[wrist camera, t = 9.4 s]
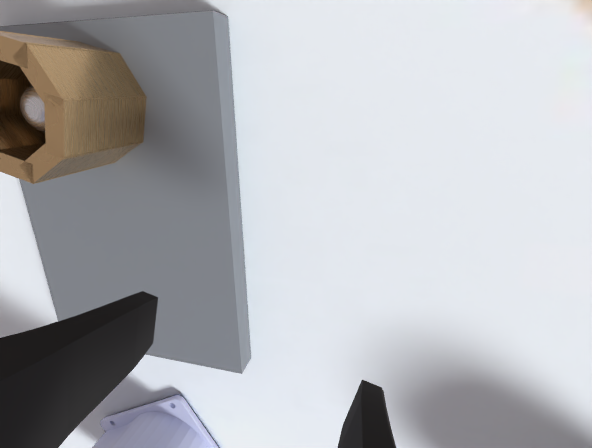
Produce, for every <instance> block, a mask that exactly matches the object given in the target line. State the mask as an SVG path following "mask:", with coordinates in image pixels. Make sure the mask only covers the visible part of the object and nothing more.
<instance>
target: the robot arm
mask: <svg viewBox="0 0 592 448" xmlns="http://www.w3.org/2000/svg"><path fill="white" fill-rule="evenodd" d="M157 304H158V297H156V296H154V295H151V294H149V293H146V292H144V291H141V292H139V293H136V294H133V295H130V296H127V297H125V298H122V299H120V300H117V301H114V302H112V303H109V304H106V305H104V306H101V307H98V308H96V309H93V310H90V311H87V312H85V313H82V314H79V315H77V316H73V317H70V318H67V319H64V320H61V321H58V322H55V323H52V324H49V325H46V326H43V327H40V328H36V329H33V330H29V331H26V332H22V333H18V334H14V335H10V336H6V337H2V338H0V448H58V447H59V446H60V445H61V444H62V443H63V441H64V440H65V439H66V438H67V437H68V435H69V434H70V433H71V432H72V431H73V430H74V429H75V428H76V427H77V426H78V425H79V424H80V422H81V421H82V420H83V419H84V418H85V417H86V416H87V415H88V414H89V413H90V412H91V411H92V410H93V409H94V408H95V407H96V406H97V405H98V404H99V403H100V402H101V401H102V400H103V399H104V398H105V397H106V396H107V395H108V394H109V393H110V392H111V391H112V390H113V389H114V388H115V387H116V386H117V385H118V384H119V383H120V382H121V381H122V380H123V379H124V378H125V377H126V376H127V375H128V374H129V373H130V372H131V371H132V370H133V369H134V367H135V366H136V365H137V364H138V362H139V361H140V360H141V359H142V357H143V356H144V355H145V353H146V352H147V351H148V350H149V348H150V347H151V346H152V344H153V340H154V331H155V322H156V313H157ZM100 425H101V427H102V428H103V429H104V431H105V433H104V434H103V436H102V437H101V438H100V439H99V440H98V441H97V442H96V444H95V445H94V446H93V447H92V448H219V447H218V446H217V445H216V443H215V442H214V440H213V439H212V437H211V436H210V435H209V433H208V432H207V430H206V429H205V428H204V426H203V425H202V423H201V422H200V420H199V419H198V418H197V416H196V415H195V413H194V412H193V410H192V409H191V408H190V406H189V405H188V403H187V402H186V400H185V399H184V398H183V397H182V396H180V395H176V396H172V397H169V398H166V399H163V400H159V401H156V402H153V403H150V404H147V405H143V406H140V407H137V408H134V409H130V410H127V411H124V412H121V413H118V414H114V415H111V416H108V417H105V418H103V419H102V420H101V422H100ZM338 448H396V445H395V442H394V438H393V434H392V430H391V426H390V422H389V418H388V413H387V408H386V403H385V397H384V392H383V390H382V388H381V387H379V386H377V385H374V384H372V383H369V382H367V381H364V380H362V381H361V384H360V386H359V388H358V391H357V393H356V395H355V398H354V400H353V402H352V405H351V407H350V410H349V412H348V414H347V417H346V419H345V421H344V424H343V427H342V431H341V435H340V440H339V444H338Z"/></svg>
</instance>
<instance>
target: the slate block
mask: <svg viewBox="0 0 592 448" xmlns="http://www.w3.org/2000/svg"><path fill="white" fill-rule="evenodd" d="M0 31H5V32H12V33H20V34H27V35H34V36H42V37H49V38H56V39H64V40H71V41H78V42H81V43H85V44H88V45H92V46H95V47H98V48H102V49H105V50H109V51H112V52H116V53H120V54H121V56H122V57H123V59H124V61H125V62H126V64H127V66H128V67H129V69H130V70H131V72H132V74H133V75H134V77H135V79H136V80H137V82H138V83H139V85H140V87H141V88H142V90H143V92H144V93H145V95H146V96H147V99H146V113H145V126H144V140H143V141H144V142H143V143H141V144H140V145H138V146H137V147H136V148H134V149H133V150H131V151H130V152H129V153H127V154H126V155H125V156H123V157H122V158H121V159H119V160H118V161H116V163H112V164H108V165H104V166H101V167H97V168H93V169H89V170H85V171H81V172H78V173H74V174H70V175H66V176H62V177H58V178H55V179H51V180H47V181H43V182H39V183H35V184H32V183H30V182H27V181H25V180H22V179H19V180H20V183H21V187H22V191H23V194H24V198H25V202H26V205H27V209H28V213H29V216H30V220H31V224H32V227H33V231H34V234H35V238H36V242H37V245H38V249H39V253H40V256H41V260H42V264H43V267H44V271H45V275H46V278H47V282H48V285H49V289H50V293H51V296H52V300H53V304H54V307H55V311H56V315H57V318H58V321H61V320H64V319H67V318H70V317H73V316H77V315H79V314H82V313H85V312H87V311H90V310H93V309H96V308H98V307H101V306H104V305H106V304H109V303H112V302H114V301H117V300H120V299H122V298H125V297H127V296H130V295H133V294H136V293H139V292H141V291H144V292H146V293H149V294H151V295H154V296H156V297H158V304H157V313H156V322H155V331H154V340H153V344H152V346H151V347H150V348H149V350H148V351H147V352H146V353H145V354H146V355H151V356H156V357H161V358H166V359H171V360H176V361H181V362H186V363H191V364H196V365H201V366H206V367H211V368H216V369H221V370H226V371H231V372H236V373H241V374H242V373H243V371H244V369H245V367H246V366H247V364H248V362H249V360H250V359H251V350H250V336H249V321H248V306H247V291H246V277H245V262H244V247H243V232H242V218H241V203H240V188H239V173H238V159H237V144H236V129H235V115H234V100H233V85H232V70H231V56H230V41H229V26H228V16H226V15H223V14H221V13H218V12H216V11H213V10H212V11H199V12H186V13H173V14H159V15H146V16H133V17H119V18H106V19H93V20H80V21H66V22H53V23H40V24H27V25H13V26H0Z"/></svg>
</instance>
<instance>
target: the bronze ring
mask: <svg viewBox="0 0 592 448" xmlns="http://www.w3.org/2000/svg"><path fill="white" fill-rule="evenodd" d="M30 86H33V87H34V89H35V90H36V92H37V93H38V95H39V96H40V98H41V99H42V101H43V102H44V108H45V132H42V131H39V130H37V129H36V128H34V127H32V126H31V125H30V124H29V123H28V122H27V121H26V120H25V118H24V116H23V115H22V112H21V109H20V100H21V97H22V94H23V93H24V92H25V90H26V89H28V88H29V87H30ZM146 99H147V96H146V95H145V93H144V92H143V90H142V88H141V87H140V85H139V83H138V82H137V80H136V79H135V77H134V75H133V74H132V72H131V70H130V69H129V67H128V66H127V64H126V62H125V61H124V59H123V57H122V56H121V54H120V53H116V52H112V51H109V50H105V49H102V48H98V47H95V46H92V45H88V44H85V43H81V42H78V41H71V40H64V39H56V38H49V37H42V36H34V35H27V34H20V33H12V32H5V31H0V172H3V173H6V174H8V175H11V176H14V177H16V178H19V179H22V180H25V181H27V182H30V183H32V184H35V183H39V182H43V181H47V180H51V179H55V178H58V177H62V176H66V175H70V174H74V173H78V172H81V171H85V170H89V169H93V168H97V167H101V166H104V165H108V164H112V163H116V161H118V160H119V159H121V158H122V157H123V156H125V155H126V154H127V153H129V152H130V151H131V150H133V149H134V148H136V147H137V146H138V145H140V144H141V143H143V142H144V141H143V140H144V126H145V113H146Z"/></svg>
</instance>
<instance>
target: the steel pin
mask: <svg viewBox="0 0 592 448" xmlns="http://www.w3.org/2000/svg"><path fill="white" fill-rule="evenodd" d="M20 109H21V112H22V115H23V116H24V118H25V120H26V121H27V122H28V123H29V124H30V125H31V126H32V127H34V128H36V129H37V130H39V131H42V132H45V108H44V102H43V101H42V99H41V98H40V96H39V95H38V93H37V92H36V90H35V89H34V87H33V86H30V87H29V88H28V89H26V90H25V92H24V93H23V94H22V97H21V100H20Z"/></svg>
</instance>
